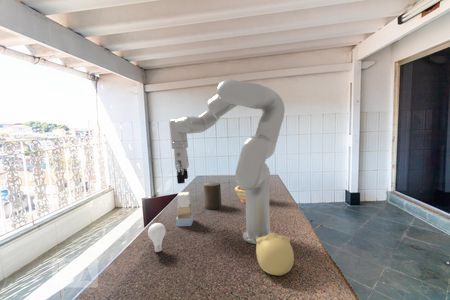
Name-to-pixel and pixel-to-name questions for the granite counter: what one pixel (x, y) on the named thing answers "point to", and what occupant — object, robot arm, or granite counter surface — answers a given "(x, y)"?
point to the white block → (183, 199)
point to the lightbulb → (157, 235)
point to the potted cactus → (240, 193)
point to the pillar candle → (212, 195)
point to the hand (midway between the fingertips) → (183, 180)
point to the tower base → (184, 221)
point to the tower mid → (184, 212)
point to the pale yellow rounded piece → (275, 254)
